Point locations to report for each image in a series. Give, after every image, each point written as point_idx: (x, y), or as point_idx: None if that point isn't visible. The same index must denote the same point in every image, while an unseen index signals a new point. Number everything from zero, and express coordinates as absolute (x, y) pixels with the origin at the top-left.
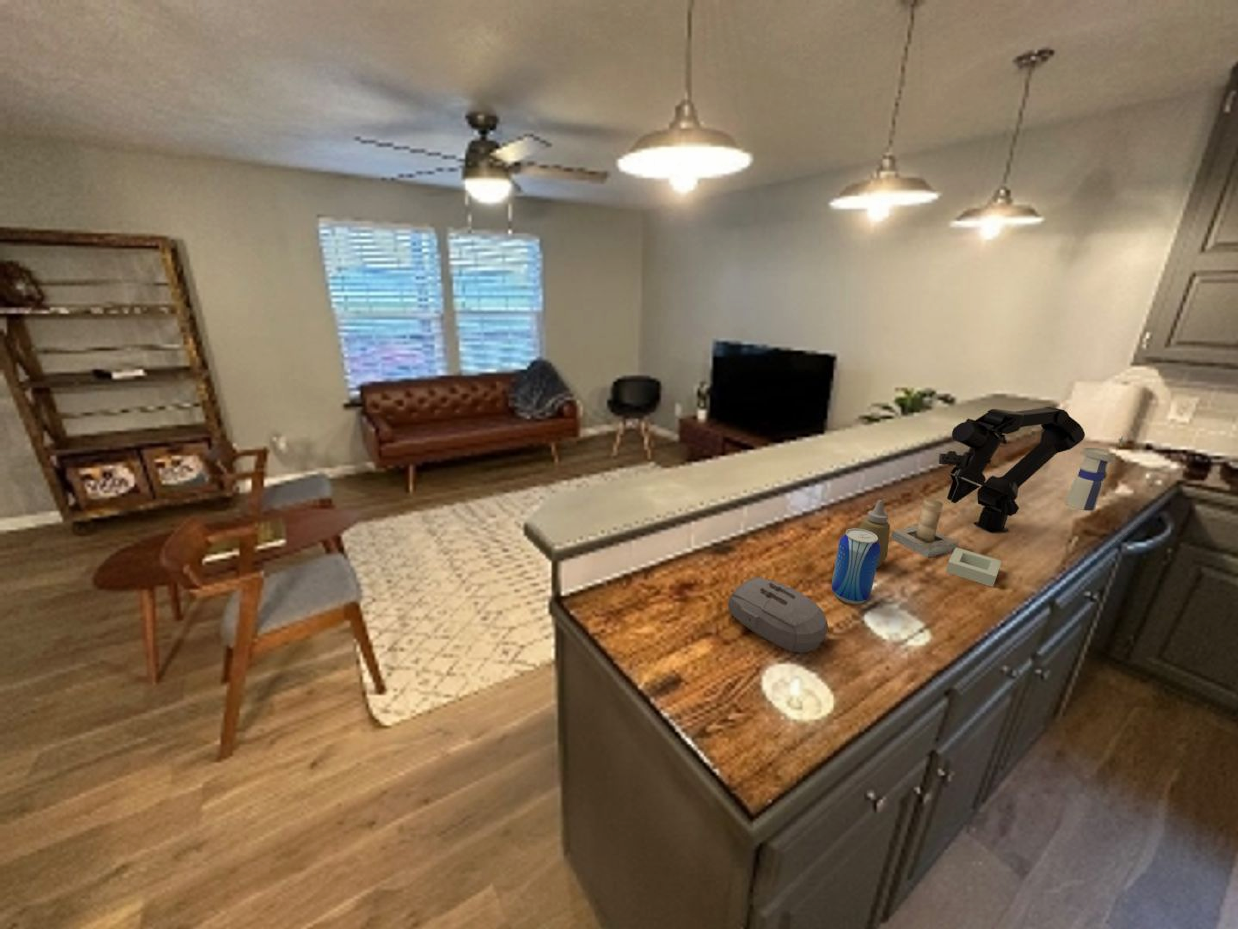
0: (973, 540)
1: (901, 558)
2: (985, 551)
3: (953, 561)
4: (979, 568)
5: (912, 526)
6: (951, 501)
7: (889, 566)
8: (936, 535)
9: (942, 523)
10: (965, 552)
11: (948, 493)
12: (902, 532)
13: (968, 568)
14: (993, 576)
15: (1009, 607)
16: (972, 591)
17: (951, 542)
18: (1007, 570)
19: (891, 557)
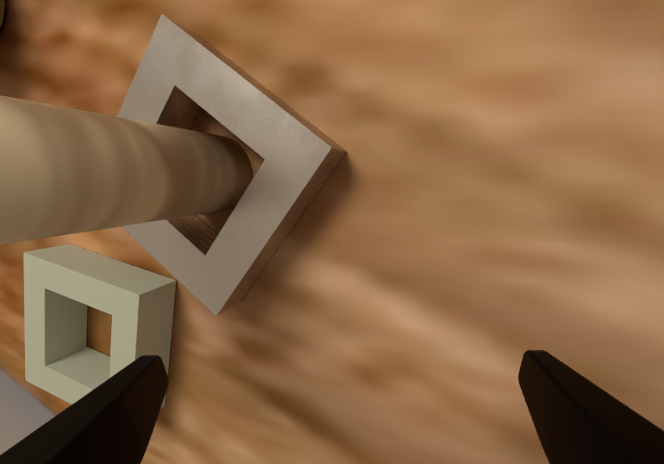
0: (386, 393)
1: (68, 104)
2: (294, 410)
3: (34, 269)
4: (41, 344)
5: (272, 104)
6: (142, 356)
7: (4, 74)
8: (229, 226)
9: (561, 279)
10: (118, 323)
11: (594, 395)
12: (170, 65)
13: (27, 310)
14: (28, 373)
15: (10, 371)
16: (22, 302)
17: (195, 285)
18: (185, 435)
19: (55, 69)
